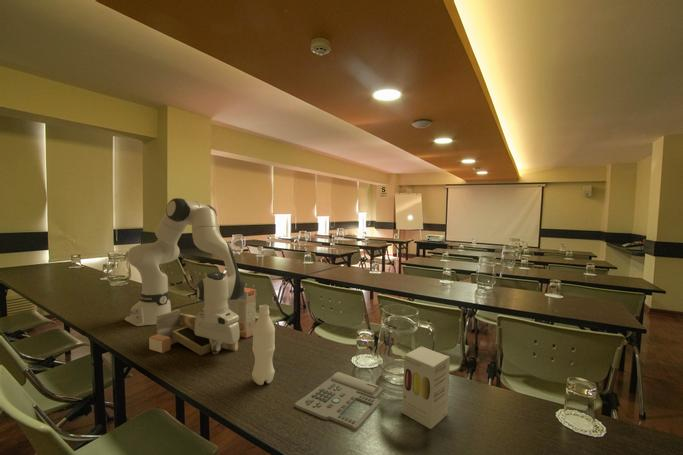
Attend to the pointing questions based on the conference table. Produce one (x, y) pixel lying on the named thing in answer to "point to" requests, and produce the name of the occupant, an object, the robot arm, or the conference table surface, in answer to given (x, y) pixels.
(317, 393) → the office telephone
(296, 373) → the conference table surface
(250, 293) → the cracker box
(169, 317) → the shelf
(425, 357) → the supplement box
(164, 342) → the orange brown block
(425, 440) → the conference table surface
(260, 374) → the water bottle
